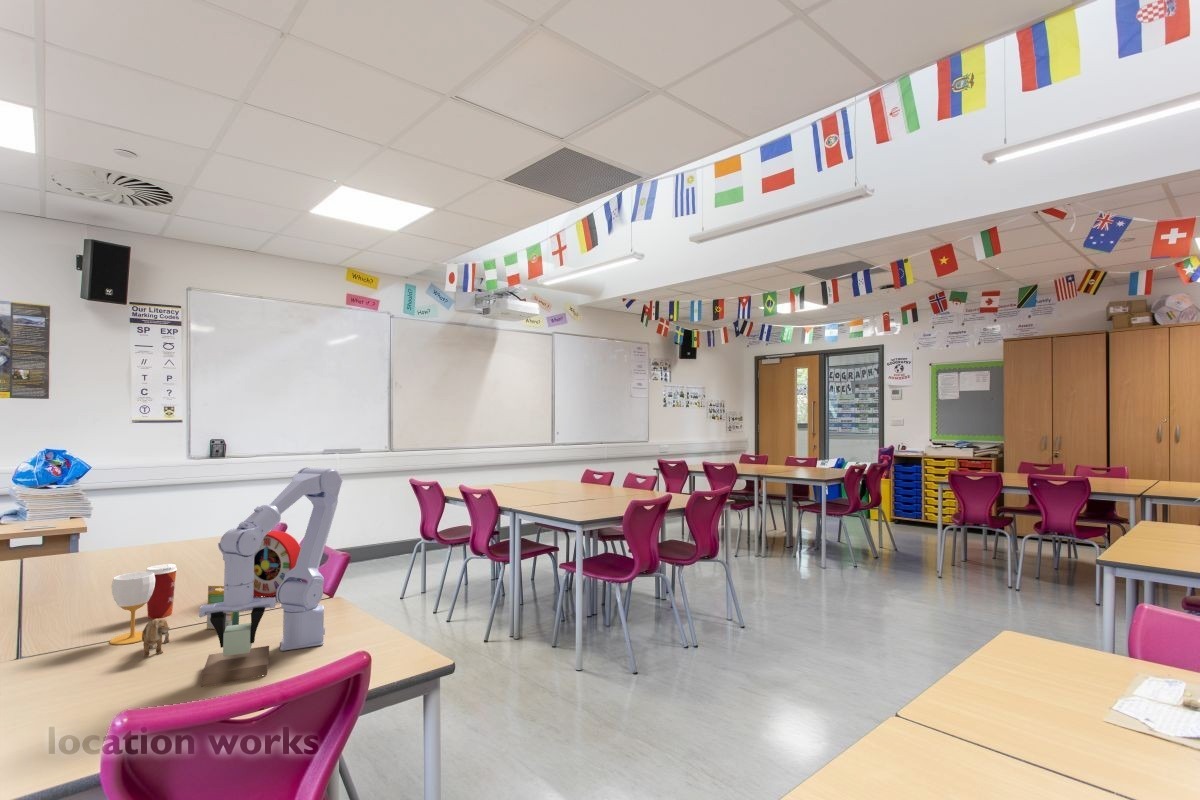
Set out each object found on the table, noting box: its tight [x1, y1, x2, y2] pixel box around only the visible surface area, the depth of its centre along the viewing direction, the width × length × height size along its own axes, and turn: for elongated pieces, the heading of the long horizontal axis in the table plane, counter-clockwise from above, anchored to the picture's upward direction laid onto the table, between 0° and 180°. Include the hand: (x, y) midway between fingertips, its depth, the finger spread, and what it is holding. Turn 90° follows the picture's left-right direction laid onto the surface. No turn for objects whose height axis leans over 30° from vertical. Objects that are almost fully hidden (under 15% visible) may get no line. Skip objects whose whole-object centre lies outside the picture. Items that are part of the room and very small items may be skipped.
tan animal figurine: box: [141, 618, 171, 658], centre depth 144 cm, size 15×5×9 cm, turn 35°
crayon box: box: [206, 585, 240, 630], centre depth 159 cm, size 7×3×12 cm, turn 84°
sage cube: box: [222, 622, 253, 656], centre depth 132 cm, size 5×5×5 cm
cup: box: [109, 571, 155, 646], centre depth 152 cm, size 9×9×16 cm
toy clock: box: [254, 530, 301, 598], centre depth 191 cm, size 20×6×20 cm, turn 80°
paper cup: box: [145, 563, 178, 620], centre depth 170 cm, size 8×8×14 cm
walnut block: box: [200, 645, 270, 688], centre depth 132 cm, size 12×12×3 cm
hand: (237, 643), depth 132 cm, fingers closed on sage cube, 5 cm apart
